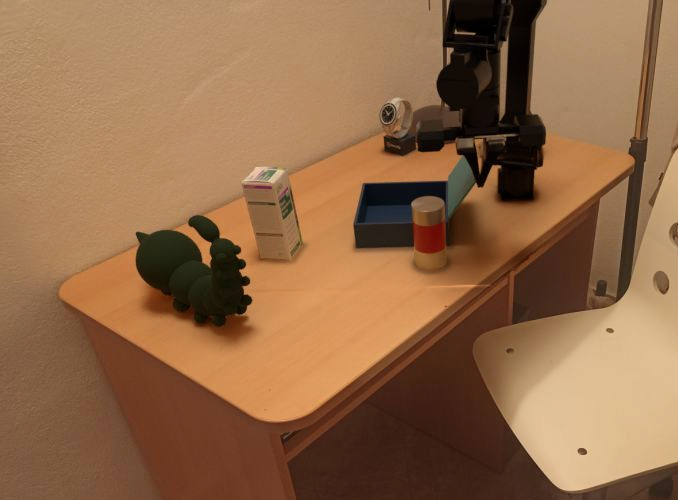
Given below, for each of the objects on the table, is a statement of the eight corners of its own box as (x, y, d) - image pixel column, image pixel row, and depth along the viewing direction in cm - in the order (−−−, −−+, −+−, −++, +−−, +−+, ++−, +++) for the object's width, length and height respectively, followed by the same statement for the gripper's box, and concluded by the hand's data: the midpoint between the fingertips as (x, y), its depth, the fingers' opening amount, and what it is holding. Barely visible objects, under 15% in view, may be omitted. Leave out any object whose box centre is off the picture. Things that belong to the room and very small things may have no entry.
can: (446, 255, 114) (444, 195, 107) (446, 272, 110) (444, 211, 103) (416, 256, 114) (411, 196, 108) (414, 272, 110) (410, 211, 103)
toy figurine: (274, 326, 103) (174, 263, 114) (255, 218, 90) (145, 159, 101) (223, 358, 97) (123, 288, 108) (196, 247, 85) (86, 181, 96)
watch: (378, 152, 149) (373, 102, 142) (402, 141, 154) (399, 92, 147) (397, 158, 146) (393, 108, 139) (421, 146, 151) (418, 96, 144)
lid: (447, 176, 125) (449, 177, 125) (447, 217, 112) (449, 219, 113) (472, 142, 121) (473, 143, 121) (474, 181, 108) (476, 182, 108)
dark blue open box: (449, 204, 129) (448, 180, 125) (449, 248, 116) (448, 222, 113) (365, 207, 129) (362, 182, 126) (356, 250, 117) (353, 224, 113)
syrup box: (291, 262, 114) (275, 182, 105) (259, 259, 115) (240, 180, 106) (303, 245, 119) (288, 167, 109) (272, 242, 120) (254, 165, 111)
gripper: (536, 63, 102) (532, 161, 112) (413, 70, 102) (419, 168, 111) (549, 88, 93) (543, 192, 103) (414, 95, 93) (420, 199, 103)
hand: (480, 186), depth 105 cm, fingers closed
